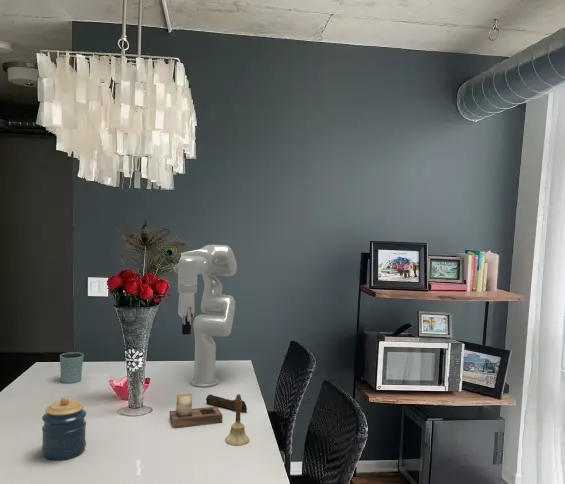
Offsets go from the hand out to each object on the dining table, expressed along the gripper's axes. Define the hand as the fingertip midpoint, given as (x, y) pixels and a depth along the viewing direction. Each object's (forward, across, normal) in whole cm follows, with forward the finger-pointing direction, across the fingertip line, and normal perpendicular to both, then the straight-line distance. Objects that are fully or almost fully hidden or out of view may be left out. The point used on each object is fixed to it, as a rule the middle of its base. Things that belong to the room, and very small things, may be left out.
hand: (186, 334), depth 208 cm
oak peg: (+29, +17, -4) cm, 34 cm away
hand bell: (+29, +38, +11) cm, 49 cm away
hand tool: (+30, +7, +16) cm, 34 cm away
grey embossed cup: (+29, -45, -43) cm, 69 cm away
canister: (+29, +30, -44) cm, 61 cm away
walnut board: (+29, +17, +1) cm, 34 cm away
